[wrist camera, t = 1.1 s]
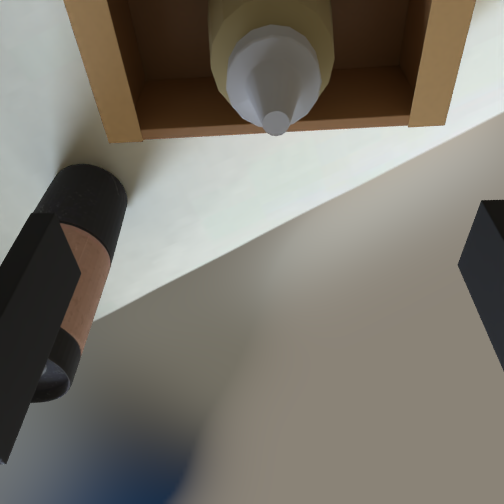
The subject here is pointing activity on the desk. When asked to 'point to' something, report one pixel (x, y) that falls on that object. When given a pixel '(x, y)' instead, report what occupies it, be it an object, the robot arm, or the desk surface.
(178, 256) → the desk surface
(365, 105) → the wooden box
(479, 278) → the robot arm
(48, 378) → the travel mug
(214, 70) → the squeeze bottle
